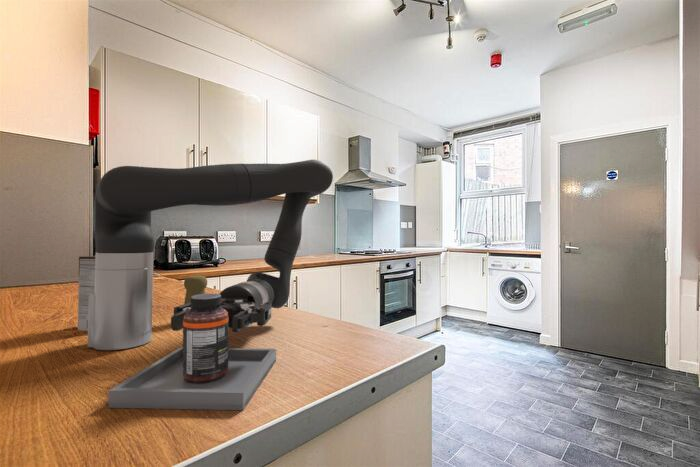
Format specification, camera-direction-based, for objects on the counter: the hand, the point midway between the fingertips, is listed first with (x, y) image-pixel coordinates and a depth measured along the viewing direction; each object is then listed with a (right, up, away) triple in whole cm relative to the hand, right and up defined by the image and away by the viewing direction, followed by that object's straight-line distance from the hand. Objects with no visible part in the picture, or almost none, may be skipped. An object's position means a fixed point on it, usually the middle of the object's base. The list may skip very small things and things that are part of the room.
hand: (204, 324), depth 47 cm
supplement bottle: (0, -8, 0) cm, 8 cm away
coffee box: (-34, -9, +29) cm, 46 cm away
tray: (0, -8, 0) cm, 8 cm away
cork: (-17, -9, +35) cm, 40 cm away
